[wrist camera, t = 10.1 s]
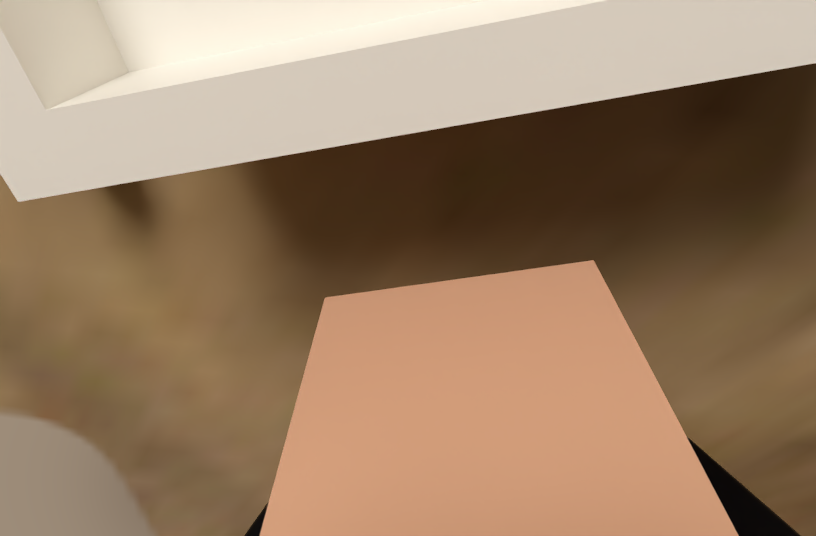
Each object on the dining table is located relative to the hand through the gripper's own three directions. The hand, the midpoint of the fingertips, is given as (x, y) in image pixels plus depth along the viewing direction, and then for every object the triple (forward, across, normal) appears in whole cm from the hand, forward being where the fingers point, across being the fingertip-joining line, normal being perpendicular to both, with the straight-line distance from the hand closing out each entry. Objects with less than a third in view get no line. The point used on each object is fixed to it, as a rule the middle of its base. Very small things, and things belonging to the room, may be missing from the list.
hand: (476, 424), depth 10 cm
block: (+1, 0, 0) cm, 1 cm away
